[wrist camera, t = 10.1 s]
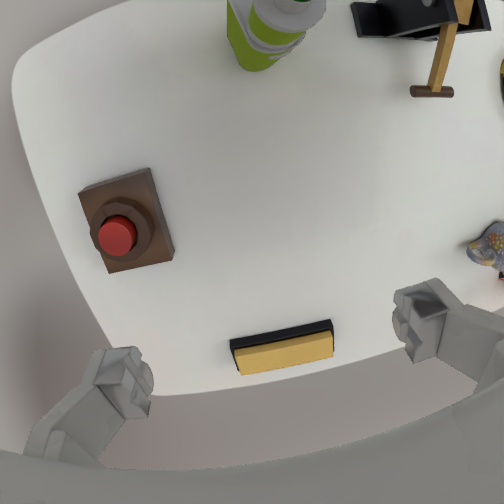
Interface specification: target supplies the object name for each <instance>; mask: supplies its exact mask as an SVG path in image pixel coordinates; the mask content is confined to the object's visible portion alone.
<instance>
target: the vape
mask: <svg viewBox="0 0 504 504" xmlns="http://www.w3.org/2000/svg"><path fill="white" fill-rule="evenodd" d="M325 11H326V0H227V37H228V39H229V41H230V43H231V46H232V48H233V50H234V52H235V54H236V57H237V59H238V61H239V63H240V65H241V67H242V68H243V69H245V70H247V71H252V72H255V71H261V70H264V69H266V68H268V67H270V66H271V65H272V64H273V63H275V62H276V61H277V60H278V59H280V58H281V57H284V56H286V55H287V54H288V53H290V51H291V50H292V49H293V48H294V47H295V46H297V45H298V44H299V43H300V42H301V41H302V40H303V38H304V37H305V34H306V30H308V29H309V28H311V27H313V26H314V25H315V24H316V23H317V22H318V21H319V20H320V19H322V17H323V15H324V13H325Z"/></svg>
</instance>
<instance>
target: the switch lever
mask: <svg viewBox="0 0 504 504" xmlns="http://www.w3.org/2000/svg"><path fill="white" fill-rule="evenodd" d="M473 1H474V0H454V4H455V8H456V12H457V16H458V20H459V23H460V24H465V25H468V24H469V20H470V15H471V11H472V6H473ZM457 27H458V23H454V24H449V25H444V26H441V29H440V34H439V38H438V43H437V47H436V52H435V56H434V60H433V64H432V68H431V72H430V76H429V80H428V83H427V86H425V85H412V86H410V94H411V96H412V97H446V98H452V97H453V96H454V90H453V88H452V87H450V86H442V84H443V80H444V77H445V73H446V70H447V66H448V63H449V59H450V55H451V51H452V48H453V44H454V40H455V35H456V31H457Z"/></svg>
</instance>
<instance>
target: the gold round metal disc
mask: <svg viewBox="0 0 504 504" xmlns="http://www.w3.org/2000/svg"><path fill="white" fill-rule="evenodd" d="M500 73H501V74H502V75H504V60H503V62H502V65H501V70H500Z"/></svg>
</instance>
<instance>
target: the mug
mask: <svg viewBox="0 0 504 504" xmlns="http://www.w3.org/2000/svg"><path fill="white" fill-rule="evenodd" d="M474 249H479V250H481V251H482V253H483V256H484V258H485V259H486V260H485V259H482V258H480V257H478V256H476V255H475V254H474V253H473V252H472V250H474ZM466 253H467V255H468V257H469V258H470V259H471V260H472V261H474V262H476V263H478V264H480V265H484V266H492V267H493V268H495V269H497V270H499V271H501V272H502V273H503V275H504V223H503V222H498V223H495V224H493V225H491V226H490V227H489V228H488V229H487V230H486V232H485V233H484V235H483V236H482V238H480V239H478V240H476V241H474V242H472V243H470V244H469V245H468V246H467V249H466Z"/></svg>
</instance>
